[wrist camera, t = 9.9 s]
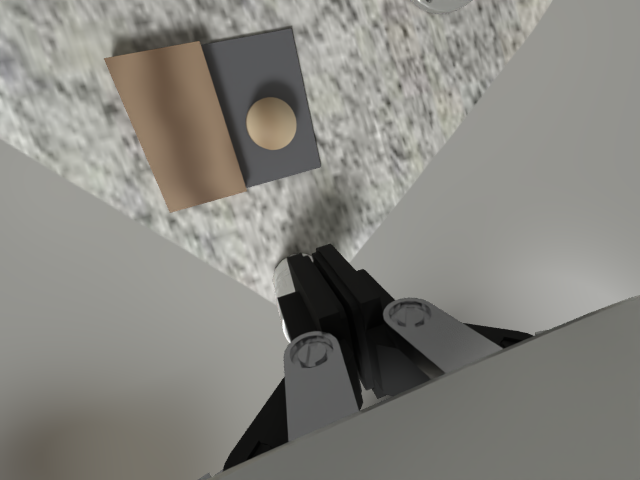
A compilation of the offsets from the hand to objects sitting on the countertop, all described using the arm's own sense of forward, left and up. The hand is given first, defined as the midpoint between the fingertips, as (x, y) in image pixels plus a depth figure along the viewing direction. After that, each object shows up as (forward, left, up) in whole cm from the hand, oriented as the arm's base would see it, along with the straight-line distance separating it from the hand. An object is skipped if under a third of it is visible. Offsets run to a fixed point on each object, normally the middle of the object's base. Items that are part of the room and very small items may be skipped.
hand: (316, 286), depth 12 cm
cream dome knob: (-4, -5, -26) cm, 27 cm away
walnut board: (+5, -6, -26) cm, 27 cm away
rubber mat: (-4, -6, -26) cm, 27 cm away
